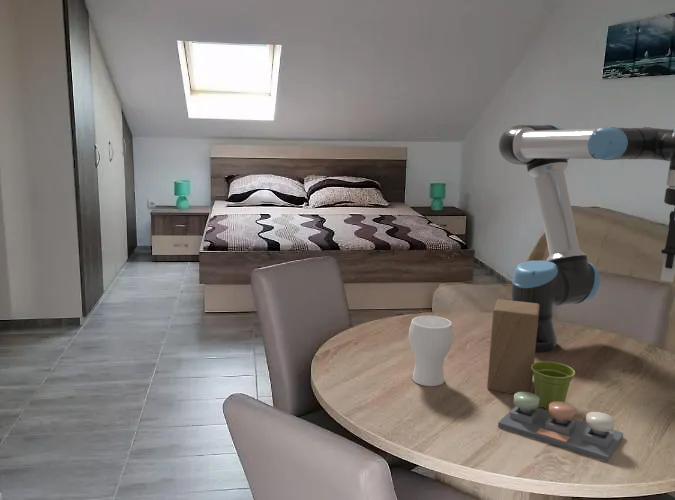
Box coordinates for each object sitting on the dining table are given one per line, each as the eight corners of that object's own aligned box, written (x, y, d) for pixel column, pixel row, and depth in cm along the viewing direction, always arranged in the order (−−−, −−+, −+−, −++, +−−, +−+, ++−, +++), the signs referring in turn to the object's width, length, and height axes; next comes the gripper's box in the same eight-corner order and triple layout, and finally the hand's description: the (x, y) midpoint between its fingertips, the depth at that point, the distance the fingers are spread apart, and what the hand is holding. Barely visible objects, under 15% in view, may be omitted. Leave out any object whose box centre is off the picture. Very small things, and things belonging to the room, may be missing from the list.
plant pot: (521, 395, 149) (524, 361, 147) (560, 395, 150) (564, 360, 148) (536, 414, 140) (540, 377, 138) (578, 413, 141) (582, 377, 139)
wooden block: (532, 380, 158) (539, 303, 153) (530, 397, 148) (538, 315, 144) (491, 374, 161) (497, 298, 156) (486, 390, 152) (493, 309, 147)
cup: (401, 384, 153) (404, 325, 150) (412, 368, 163) (415, 312, 160) (445, 392, 150) (449, 331, 147) (453, 375, 160) (457, 318, 156)
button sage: (509, 410, 135) (510, 397, 135) (518, 402, 139) (519, 389, 139) (533, 418, 132) (534, 404, 132) (541, 409, 136) (543, 396, 136)
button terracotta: (544, 421, 131) (545, 407, 130) (552, 412, 135) (553, 399, 134) (569, 429, 128) (571, 415, 127) (577, 419, 132) (579, 406, 132)
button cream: (581, 432, 127) (583, 418, 126) (588, 422, 131) (590, 409, 130) (609, 440, 124) (610, 426, 123) (615, 430, 128) (617, 416, 127)
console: (497, 426, 134) (498, 416, 133) (518, 406, 143) (519, 397, 143) (607, 461, 121) (609, 450, 121) (622, 437, 131) (624, 427, 130)
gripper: (697, 195, 138) (682, 289, 143) (705, 185, 159) (691, 267, 164) (659, 192, 142) (645, 283, 147) (672, 182, 163) (659, 262, 168)
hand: (670, 275), depth 155 cm, fingers open, 13 cm apart
